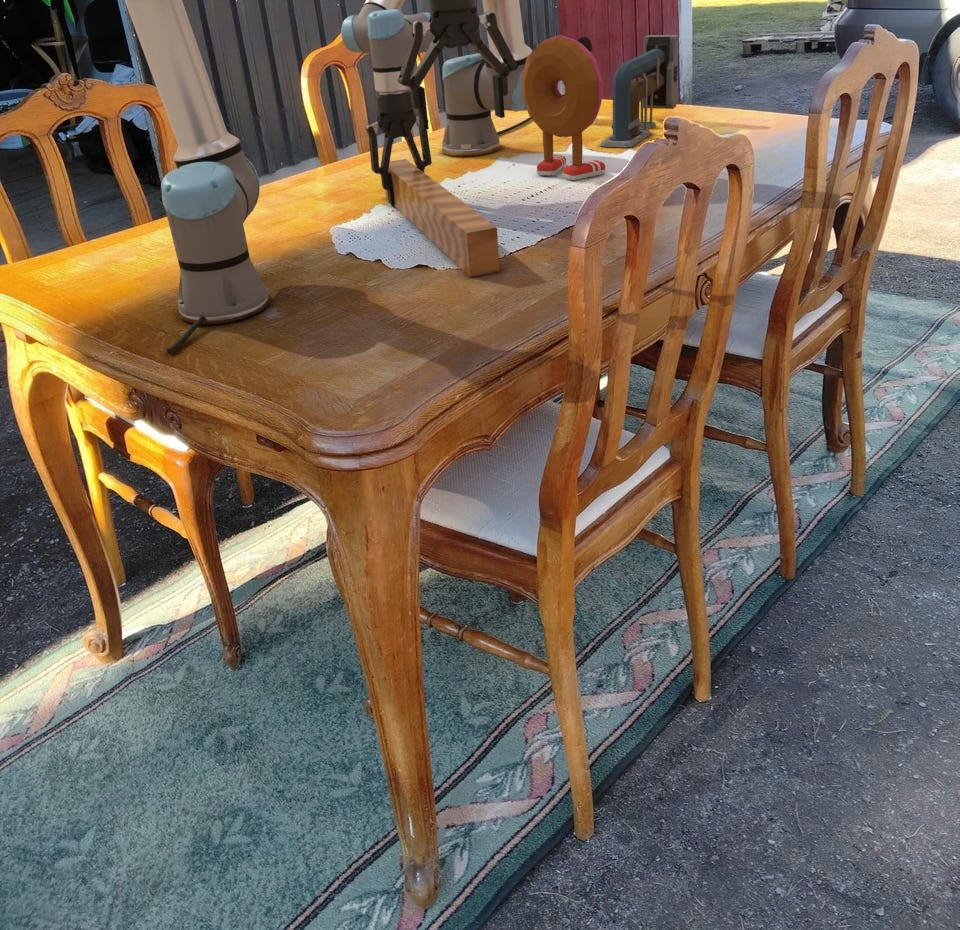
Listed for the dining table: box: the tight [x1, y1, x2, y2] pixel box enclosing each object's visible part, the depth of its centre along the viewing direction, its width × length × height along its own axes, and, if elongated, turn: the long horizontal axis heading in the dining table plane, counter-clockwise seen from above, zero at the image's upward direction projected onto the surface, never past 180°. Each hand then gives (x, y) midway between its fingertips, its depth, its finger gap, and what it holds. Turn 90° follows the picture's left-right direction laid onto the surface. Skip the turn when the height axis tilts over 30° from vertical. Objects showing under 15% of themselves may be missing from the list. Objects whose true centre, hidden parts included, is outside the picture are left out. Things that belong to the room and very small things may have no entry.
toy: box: [521, 34, 606, 181], centre depth 218 cm, size 21×10×30 cm, turn 47°
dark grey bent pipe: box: [599, 34, 679, 148], centre depth 253 cm, size 35×9×21 cm, turn 151°
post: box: [384, 158, 501, 278], centre depth 194 cm, size 60×6×8 cm, turn 19°
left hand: (462, 122), depth 164 cm, fingers open, 13 cm apart
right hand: (405, 201), depth 215 cm, fingers closed on post, 6 cm apart
